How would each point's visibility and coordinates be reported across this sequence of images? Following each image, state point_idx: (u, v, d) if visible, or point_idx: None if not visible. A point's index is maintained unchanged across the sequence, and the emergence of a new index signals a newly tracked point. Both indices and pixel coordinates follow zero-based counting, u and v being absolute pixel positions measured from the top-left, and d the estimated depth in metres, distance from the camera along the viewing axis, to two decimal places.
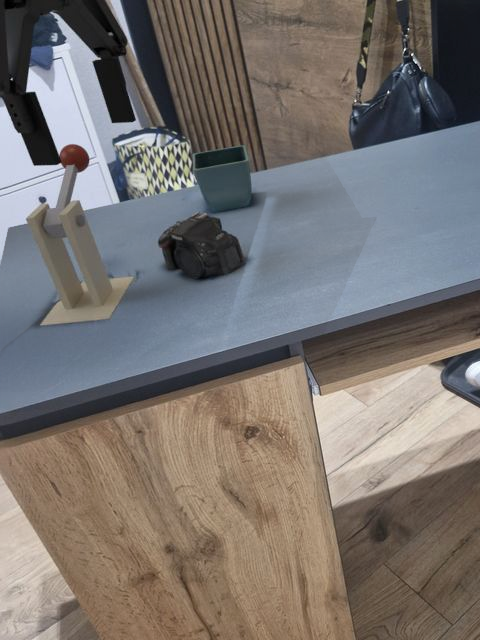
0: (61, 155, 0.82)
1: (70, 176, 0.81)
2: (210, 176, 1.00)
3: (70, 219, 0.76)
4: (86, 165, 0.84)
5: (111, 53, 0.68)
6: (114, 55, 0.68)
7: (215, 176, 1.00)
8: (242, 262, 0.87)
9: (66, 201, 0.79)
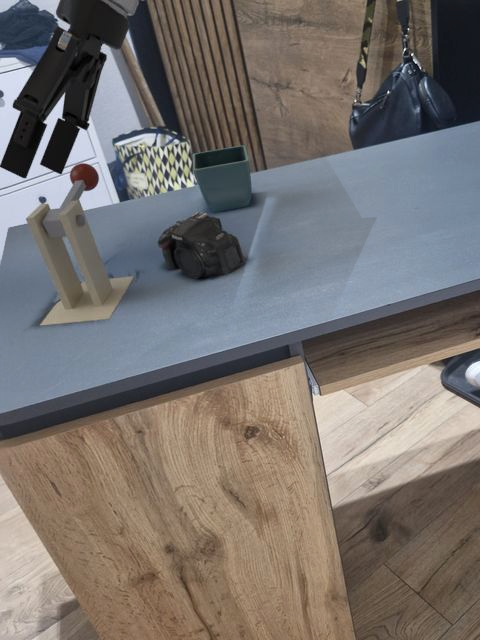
0: (72, 171, 0.84)
1: (77, 188, 0.83)
2: (210, 176, 1.00)
3: (70, 219, 0.76)
4: (95, 183, 0.86)
5: (77, 122, 0.84)
6: (78, 125, 0.84)
7: (215, 176, 1.00)
8: (242, 262, 0.87)
9: None
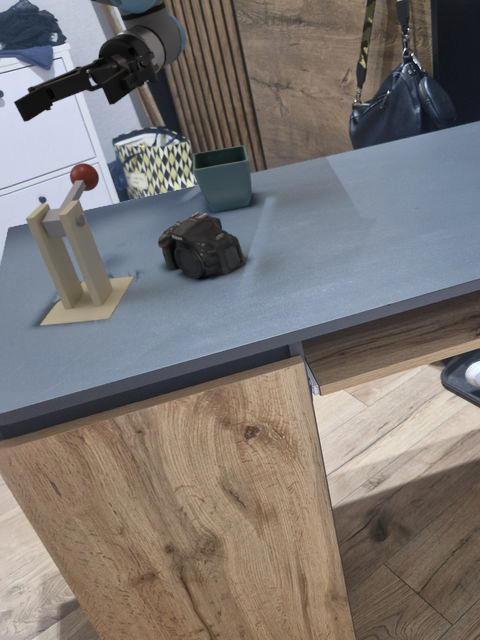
0: (72, 171, 0.84)
1: (77, 188, 0.83)
2: (210, 176, 1.00)
3: (70, 219, 0.76)
4: (95, 183, 0.86)
5: None
6: None
7: (215, 176, 1.00)
8: (242, 262, 0.87)
9: None
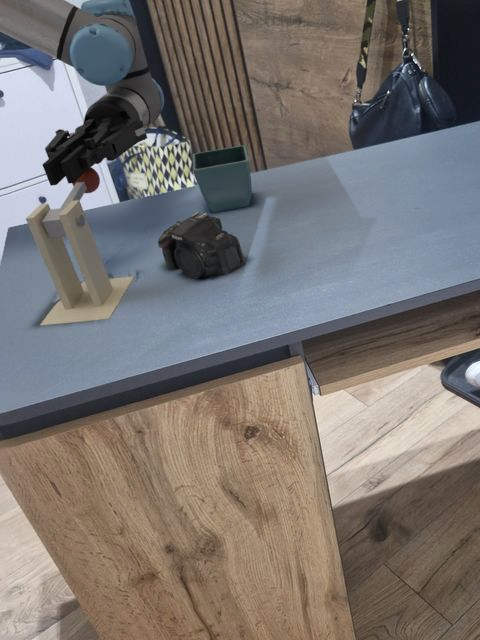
0: None
1: (77, 189, 0.83)
2: (210, 176, 1.00)
3: (70, 219, 0.76)
4: (96, 185, 0.86)
5: None
6: None
7: (215, 176, 1.00)
8: (242, 262, 0.87)
9: None
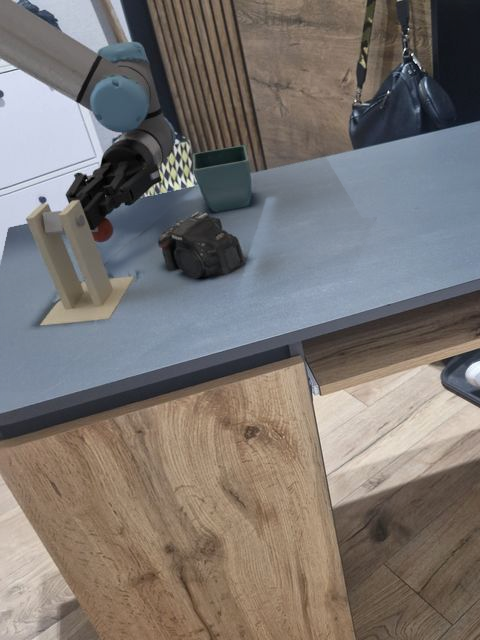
0: None
1: None
2: (210, 176, 1.00)
3: (70, 219, 0.76)
4: (107, 232, 0.88)
5: None
6: None
7: (215, 176, 1.00)
8: (242, 262, 0.87)
9: None
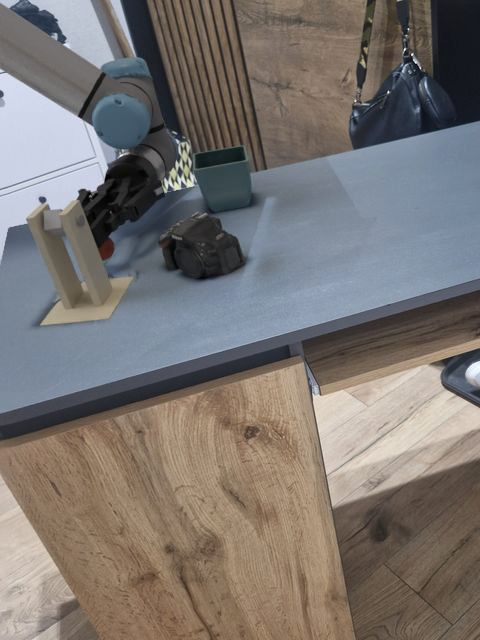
0: None
1: None
2: (210, 176, 1.00)
3: (70, 219, 0.76)
4: (108, 249, 0.88)
5: None
6: None
7: (215, 176, 1.00)
8: (242, 262, 0.87)
9: None
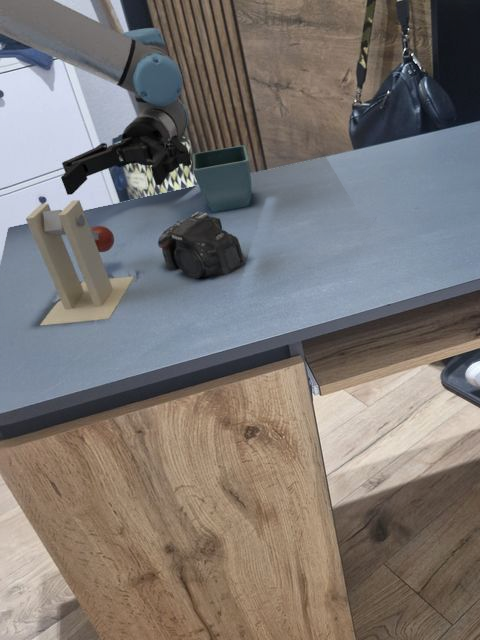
0: (90, 229, 0.88)
1: None
2: (210, 176, 1.00)
3: (70, 219, 0.76)
4: (108, 241, 0.88)
5: None
6: None
7: (215, 176, 1.00)
8: (242, 262, 0.87)
9: None
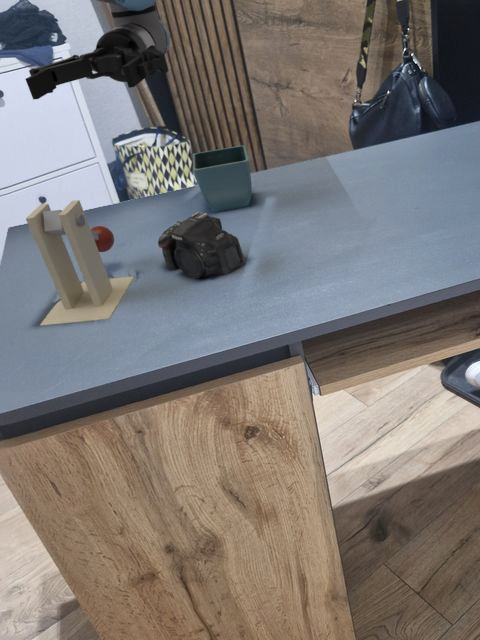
0: (90, 229, 0.88)
1: None
2: (210, 176, 1.00)
3: (70, 219, 0.76)
4: (108, 241, 0.88)
5: None
6: None
7: (215, 176, 1.00)
8: (242, 262, 0.87)
9: None
